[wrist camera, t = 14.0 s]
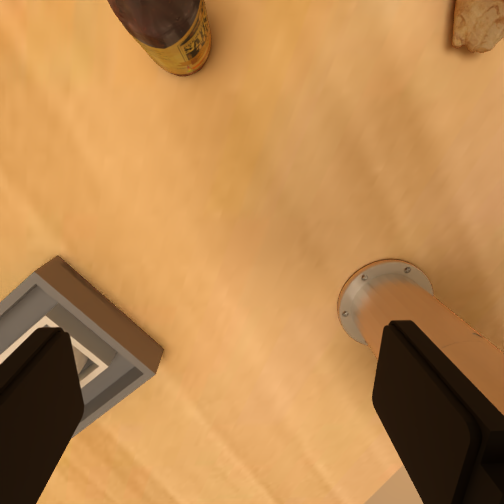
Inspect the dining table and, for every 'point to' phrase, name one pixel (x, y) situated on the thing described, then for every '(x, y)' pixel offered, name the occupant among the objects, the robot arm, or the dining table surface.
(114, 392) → the box
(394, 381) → the robot arm
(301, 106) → the dining table surface
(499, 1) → the ginger root
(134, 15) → the sauce bottle
